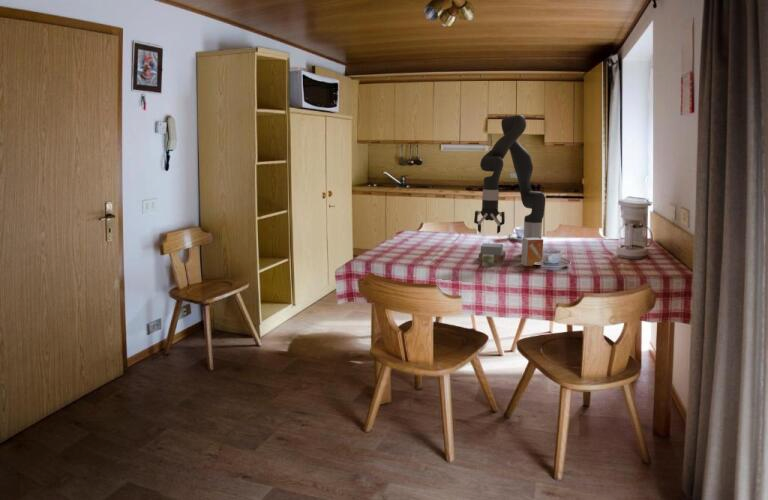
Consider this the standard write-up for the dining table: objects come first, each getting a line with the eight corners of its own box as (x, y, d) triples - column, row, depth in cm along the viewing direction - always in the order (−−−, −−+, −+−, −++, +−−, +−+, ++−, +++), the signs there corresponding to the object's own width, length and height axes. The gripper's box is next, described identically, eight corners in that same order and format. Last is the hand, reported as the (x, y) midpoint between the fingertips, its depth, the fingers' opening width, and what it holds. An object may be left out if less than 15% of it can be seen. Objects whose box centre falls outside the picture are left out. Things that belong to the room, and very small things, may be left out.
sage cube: (493, 264, 294) (494, 254, 293) (492, 266, 289) (492, 256, 288) (483, 264, 296) (483, 254, 295) (481, 266, 291) (482, 255, 290)
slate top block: (502, 251, 309) (502, 244, 309) (500, 255, 300) (501, 247, 299) (482, 250, 312) (483, 243, 311) (480, 254, 302) (480, 246, 302)
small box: (526, 266, 290) (528, 239, 288) (520, 264, 296) (522, 237, 294) (542, 265, 292) (543, 239, 290) (536, 263, 298) (537, 237, 296)
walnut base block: (505, 259, 311) (505, 251, 310) (502, 263, 299) (503, 255, 298) (481, 257, 314) (482, 250, 313) (478, 262, 303) (478, 254, 302)
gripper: (506, 198, 288) (504, 232, 291) (476, 197, 292) (475, 231, 295) (504, 200, 281) (502, 234, 284) (474, 199, 285) (472, 233, 288)
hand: (488, 232), depth 290 cm, fingers open, 8 cm apart
